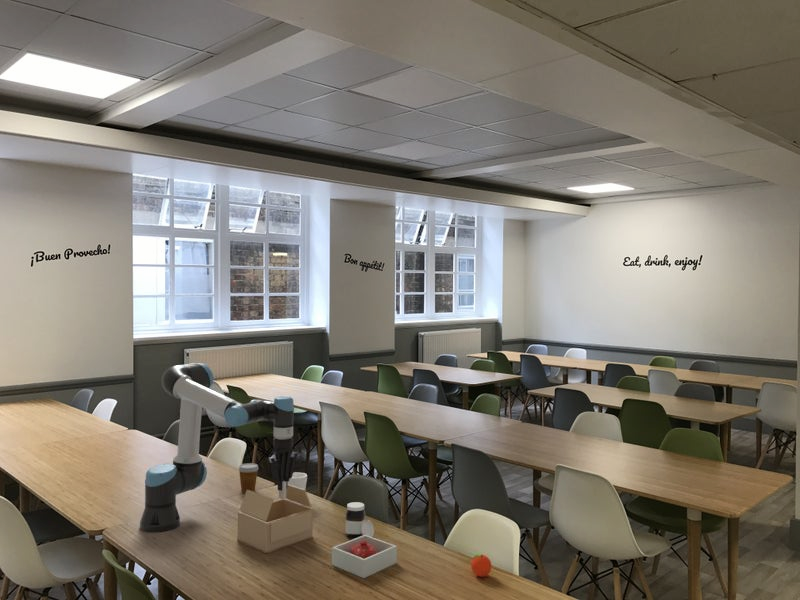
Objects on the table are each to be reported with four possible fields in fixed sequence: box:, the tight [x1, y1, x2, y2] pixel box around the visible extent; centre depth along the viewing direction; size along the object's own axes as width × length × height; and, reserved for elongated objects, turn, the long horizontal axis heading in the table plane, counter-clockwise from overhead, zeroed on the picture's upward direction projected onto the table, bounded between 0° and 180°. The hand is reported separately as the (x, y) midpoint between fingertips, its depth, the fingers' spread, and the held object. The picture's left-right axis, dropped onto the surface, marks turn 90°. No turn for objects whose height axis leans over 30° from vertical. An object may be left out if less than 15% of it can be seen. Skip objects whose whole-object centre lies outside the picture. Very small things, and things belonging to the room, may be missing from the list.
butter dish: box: [350, 540, 377, 559], centre depth 219 cm, size 12×12×8 cm
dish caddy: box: [331, 535, 398, 579], centre depth 220 cm, size 17×16×6 cm
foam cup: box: [288, 472, 308, 506], centre depth 282 cm, size 10×9×13 cm
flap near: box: [238, 490, 275, 521], centre depth 234 cm, size 8×16×1 cm
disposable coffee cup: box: [238, 462, 259, 493], centre depth 301 cm, size 10×10×12 cm
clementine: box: [468, 553, 493, 578], centre depth 212 cm, size 8×7×7 cm
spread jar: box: [345, 501, 375, 538], centre depth 246 cm, size 12×11×12 cm
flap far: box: [286, 484, 312, 508], centre depth 248 cm, size 8×16×1 cm
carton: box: [236, 498, 314, 554], centre depth 241 cm, size 22×19×11 cm
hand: (282, 497), depth 242 cm, fingers closed
